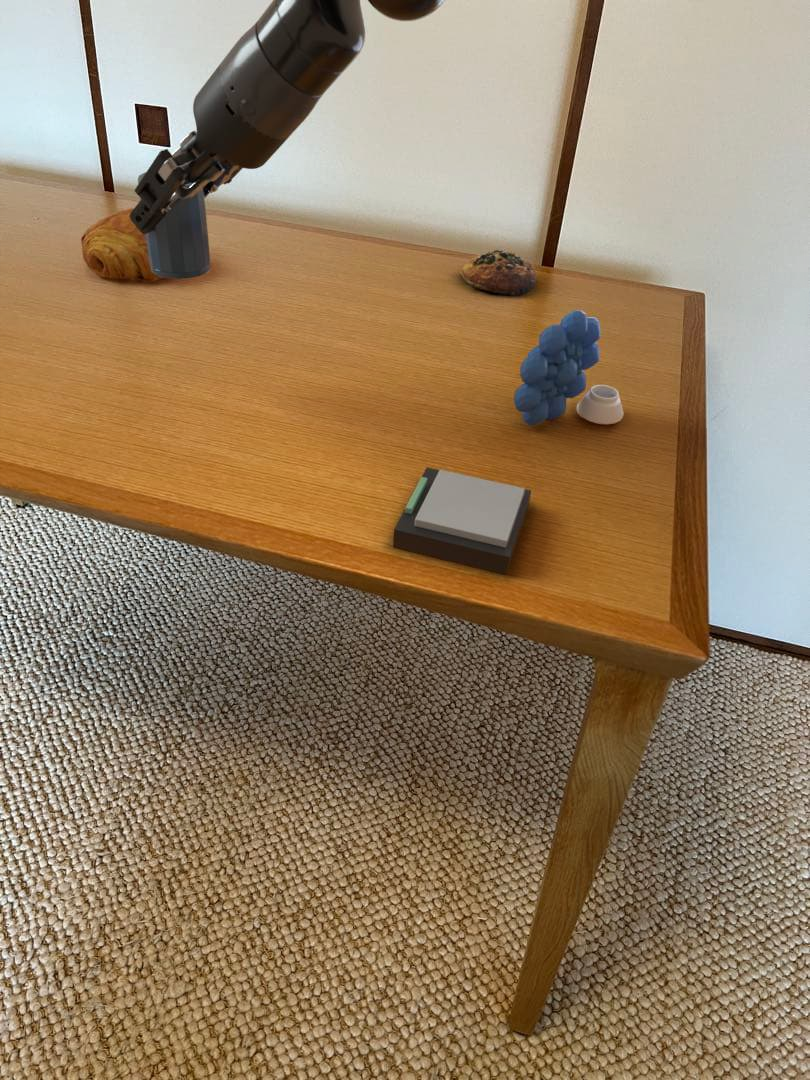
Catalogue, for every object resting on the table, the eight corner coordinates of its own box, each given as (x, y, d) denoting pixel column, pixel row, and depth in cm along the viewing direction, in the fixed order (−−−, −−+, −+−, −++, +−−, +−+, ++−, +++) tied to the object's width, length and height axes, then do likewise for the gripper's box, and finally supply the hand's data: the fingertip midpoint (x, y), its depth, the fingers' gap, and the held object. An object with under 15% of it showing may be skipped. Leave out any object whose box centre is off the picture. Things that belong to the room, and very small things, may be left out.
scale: (392, 547, 70) (394, 521, 68) (424, 484, 77) (427, 459, 76) (506, 575, 68) (511, 549, 66) (528, 507, 75) (532, 483, 74)
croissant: (71, 283, 113) (51, 227, 108) (147, 237, 122) (132, 183, 117) (148, 306, 108) (132, 249, 102) (222, 256, 117) (211, 201, 111)
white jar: (570, 419, 88) (614, 432, 87) (575, 395, 86) (621, 408, 85) (583, 399, 92) (626, 411, 90) (589, 376, 90) (633, 388, 88)
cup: (148, 279, 78) (135, 186, 73) (152, 257, 83) (140, 168, 77) (210, 279, 79) (201, 187, 74) (211, 257, 84) (203, 169, 78)
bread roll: (517, 301, 111) (518, 264, 109) (446, 292, 116) (446, 256, 114) (549, 281, 119) (552, 245, 116) (482, 272, 124) (482, 238, 121)
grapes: (555, 387, 94) (575, 286, 86) (600, 412, 90) (625, 309, 82) (483, 417, 88) (497, 311, 80) (528, 445, 84) (548, 337, 76)
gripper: (275, 44, 72) (178, 165, 83) (177, 67, 61) (81, 201, 72) (328, 120, 74) (227, 228, 84) (242, 153, 63) (138, 272, 74)
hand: (160, 215), depth 78 cm, fingers closed on cup, 6 cm apart
